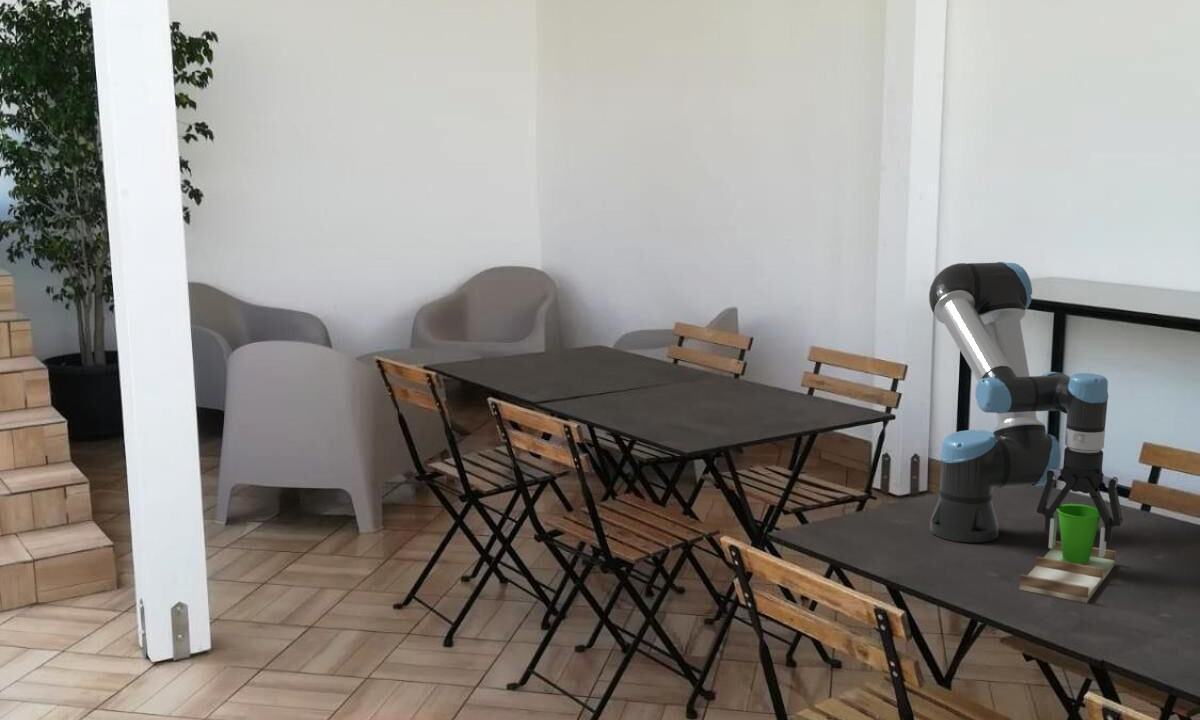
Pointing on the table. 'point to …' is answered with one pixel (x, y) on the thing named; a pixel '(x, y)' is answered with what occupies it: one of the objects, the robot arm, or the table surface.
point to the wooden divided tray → (1068, 575)
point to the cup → (1077, 531)
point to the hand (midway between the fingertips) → (1076, 550)
